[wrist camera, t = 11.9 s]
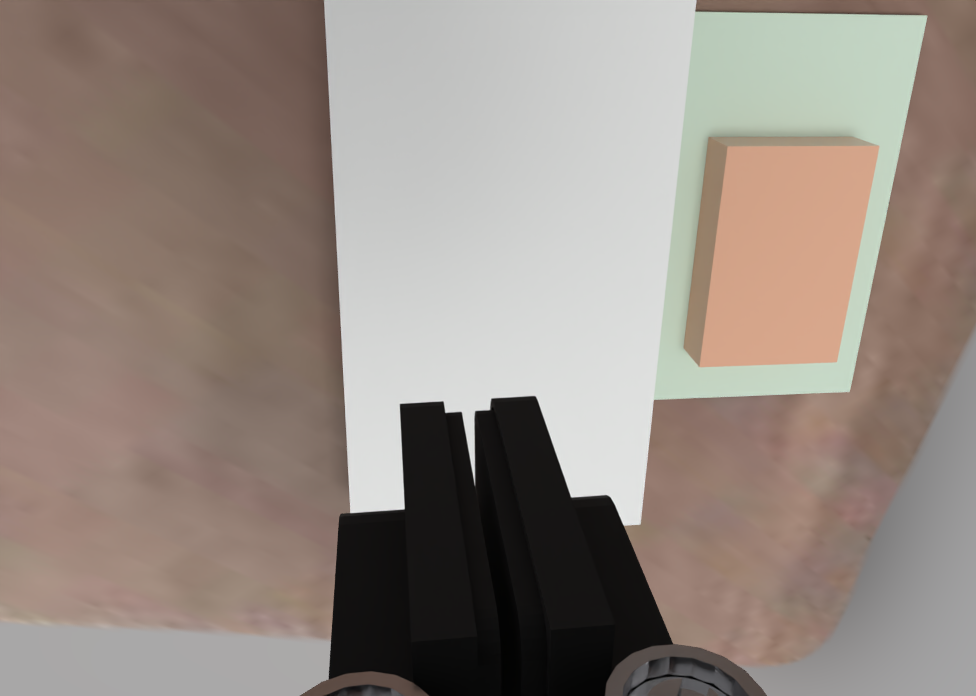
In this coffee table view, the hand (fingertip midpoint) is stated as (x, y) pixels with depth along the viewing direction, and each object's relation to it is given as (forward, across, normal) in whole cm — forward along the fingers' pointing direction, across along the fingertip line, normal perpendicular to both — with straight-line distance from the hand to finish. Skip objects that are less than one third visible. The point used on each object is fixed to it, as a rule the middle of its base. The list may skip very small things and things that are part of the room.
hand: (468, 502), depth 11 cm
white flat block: (+24, -3, +5) cm, 25 cm away
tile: (+22, -15, +5) cm, 27 cm away
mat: (+24, -15, +4) cm, 29 cm away
